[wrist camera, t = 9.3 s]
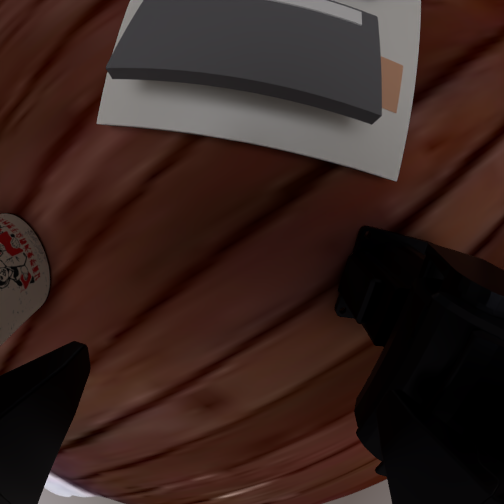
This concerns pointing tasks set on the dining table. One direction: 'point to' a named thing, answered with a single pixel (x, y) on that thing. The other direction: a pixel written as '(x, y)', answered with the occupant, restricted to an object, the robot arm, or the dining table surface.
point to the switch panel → (286, 104)
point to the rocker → (259, 50)
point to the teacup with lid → (20, 274)
